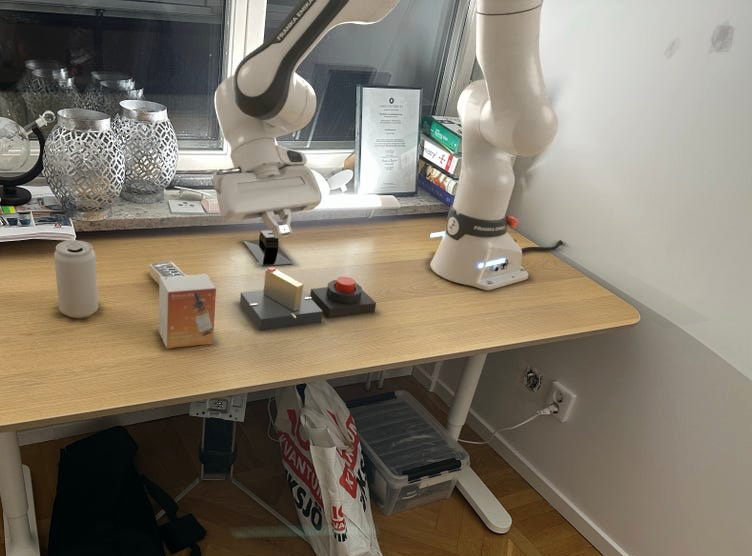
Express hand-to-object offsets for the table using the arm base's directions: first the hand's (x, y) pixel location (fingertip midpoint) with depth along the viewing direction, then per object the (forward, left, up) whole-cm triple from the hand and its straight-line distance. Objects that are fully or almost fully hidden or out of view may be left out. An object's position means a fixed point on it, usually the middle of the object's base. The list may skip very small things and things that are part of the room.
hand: (283, 236), depth 118 cm
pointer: (+2, +5, -10) cm, 12 cm away
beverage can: (+36, -4, -13) cm, 38 cm away
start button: (-11, +5, -9) cm, 16 cm away
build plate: (-6, -20, -13) cm, 25 cm away
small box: (+21, +9, -13) cm, 26 cm away
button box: (-11, +5, -13) cm, 18 cm away
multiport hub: (+18, -10, -13) cm, 24 cm away
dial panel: (+2, +5, -13) cm, 14 cm away
